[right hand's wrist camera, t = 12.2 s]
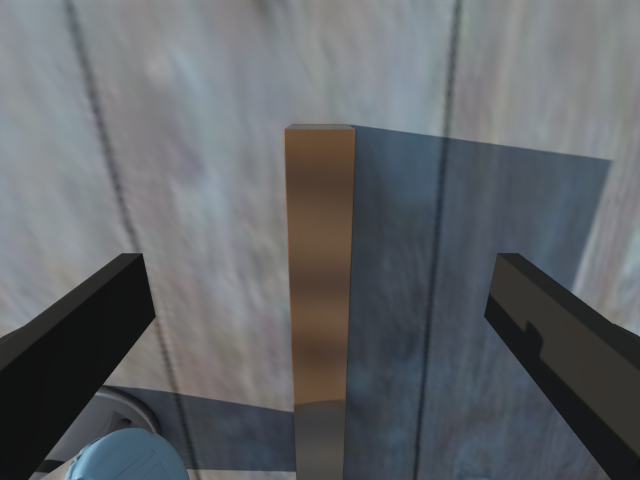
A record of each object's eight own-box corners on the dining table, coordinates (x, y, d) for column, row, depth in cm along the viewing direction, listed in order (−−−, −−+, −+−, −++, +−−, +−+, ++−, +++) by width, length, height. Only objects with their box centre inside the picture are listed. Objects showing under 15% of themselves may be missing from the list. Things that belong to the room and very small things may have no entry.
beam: (291, 124, 32) (283, 129, 25) (348, 124, 32) (356, 129, 25) (302, 520, 54) (300, 583, 47) (336, 520, 54) (339, 583, 47)
